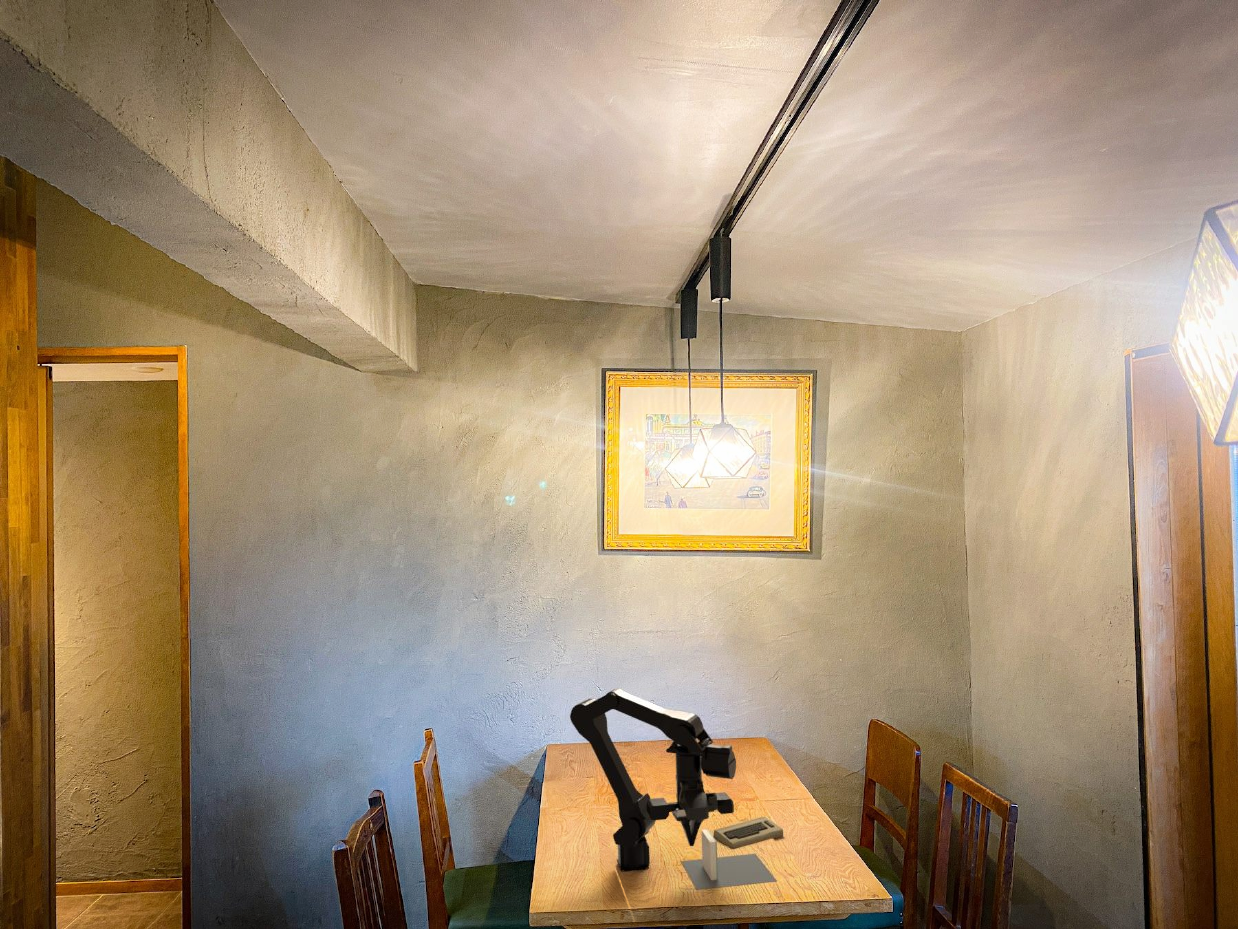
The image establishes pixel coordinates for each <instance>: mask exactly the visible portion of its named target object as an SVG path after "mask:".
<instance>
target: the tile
mask: <svg viewBox="0 0 1238 929" xmlns="http://www.w3.org/2000/svg"><path fill="white" fill-rule="evenodd" d="M701 853H702V854H701V855H702V856H701V859H702V864H703V868H704V869H705V871H706V872H707V874H708V876H709V877H710V879H711V880H718V866H717V857H718V841H717V839H716V838H714V837H713V834H712V833H711V832H710V830H709V829H708V828H707V829H701Z"/></svg>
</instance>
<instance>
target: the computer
mask: <svg viewBox="0 0 1238 929" xmlns="http://www.w3.org/2000/svg"><path fill="white" fill-rule="evenodd" d="M783 835H784V829H783V828H782V827H781V826H779V825H778V824H777V823H775V822H774V821H772V819H769V818H768V817H766V816H760V817H756V818H752V819H747V820H745V821H742V822H737V823H734V824H731V825H727V826H723V827H720V828H717V829H714V830H713V834H712V836H713V837H714V839H715V840H718V841H720V842H721V843H723V844H724V845H726V846H728V847H729V848H731V849H737V848H740V847H743V846H747V845H750V844H753V843H758V842H761V841H765V840H768V839H773V840H774V839H778V838H781V837H783Z"/></svg>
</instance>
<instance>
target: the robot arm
mask: <svg viewBox="0 0 1238 929" xmlns="http://www.w3.org/2000/svg"><path fill="white" fill-rule="evenodd" d="M611 710H615V711H617V712H619V713H621V714H624V715H627V716H628V717H631V718H632V719H633V718H634V719H635V720H638V721H640V722H643V723H645V724H648V725H650V726H652V727H654V728H657V729H658V730H659V731H661V732H662V733H663V734H664V735H665V736H666V737H667V738H668V739H669V740H671V741H672V743H671V744H670V746H669V747H668V748H666V750H665V752H666V753H667V754H668V753H669V754H675V755H674V756H675V780H676V781H675V782H676V794H675V798H676V801H672V802H671V801H670V802H667V800H666V799H665V798H664V797H658V798H657V797H656V798H655V797H654V798H651V796H650V794H649V793H648V792H646V793H645V794H642V793H641V792H639V791H638V790H637V788H636V787H635V784H634V782H633V780H632V779H631V776H630V775H629V773H628V770H627V768H626V767H625V764H624V762H623V760H622V758H621V757H620V754H619V752H618V750H617V748H616V746H615V744H614V742H613V741H612V738H611V737H610V734H609V730H608V719H607V715H606V713H608V712H610V711H611ZM569 718H570V719H569V720H570V722H571V723H572V725H573V727H574V728H575V729H576V731H577V733H578V734H579V735H580V736H581V737H582V738H584V739H585V740H586V741H587V742H588V743H589V744H590V746H591V749H592V750H593V752H594V754H595V756H596V759H597V761H598V762H599V763H598V764H600V766H601V769H602V771H603V773H604V775H605V777H606V778H607V780H608V783H609V785H610V787H611V789H612V791H613V793H614V795H615V798H616V799H617V802H618V804H617V805H618V806H617V807H618V816H619V819H620V823H621V826H620V827H619V829H617V831H615V832H614V833H613V834H612V837H613V840H614V841H613V842H614V843H615V845H616V846H617V858H616V863H617V865H618V867H619V870H620V872H622V873H626V872H636V871H644V870H649V869H650V867H649V865H650V863H651V862H650V860H651V859H650V845H649V844H648V839H647V837H646V835H648V834H649V833H650V830H651V829H652V828H653V826H654V825H655V824H656V821H664V820H666V819H668V818H669V816H670V813H671V814H672V815H673V817H674V819H675V820H676V821H677V822H680V824H681V826H682V830H683V832H684V834H685V837H686V840H687V842H688V845H689V847H694V846H695V843H696V840H697V837H698V832H699V830H700V828H701V825H702V823H703V822H704V821H705V820H708V819H709V817H710V814H709V813H713V812H715V811H717V812H718V813H719V814H720V815H726V814H733V813H734V812H735V807H734V806H735V805H734V801H733V799H732V798H731V797H730V796H729V795H728V794H727V793H726V792H706V791H705V788H704V781H703V775H702V774H705V776H706V777H709V778H717V779H718V778H719V779H725V780H726V779H727V780H733V779H734V778H735V776H736V769H737V758H736V755H735V753H734V751H733V746H732V745H728V744H727V745H726V744H725V745H718V744H713V743H714V742H713V740H712V737H710V735H709V734H708V732H707V730H706V729H705V728H704V724H703V722H702V719H701V717H700V716H699V715H697V714H695V713H691V712H687V711H683V710H671V709H666V708H664V707H661V706H659V705H657V704H654V703H652V702H650V701H647V700H644V699H643V698H640V697H638V696H636V695H632V694H631V693H628V692H626V691H624V690H623V689H621V688H615V689H612V690H610V691H608V692H607V693H606V694H605V695H603V696H601V697H599V698H597V699H595V698H587V699H585V700H582V702H579V703H577V704H576V705H574V706H573V707H572V708H571V711H570V714H569ZM697 740H698V741H697Z"/></svg>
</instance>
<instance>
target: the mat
mask: <svg viewBox="0 0 1238 929" xmlns="http://www.w3.org/2000/svg"><path fill="white" fill-rule="evenodd" d="M680 863H681V865H682V867H683V869H684V870H685V872H686V874H687V875H688V878H689V879H690V881H691V883H692V884H693V886H694V888H695V890H696V891H699V890H700V891H701V890H709V889H718V888H729V887H730V888H731V887H738V886H746V885H747V886H748V885H754V884H755V885H756V884H764V883H765V884H767V883H775V882H778V880H777V879H776V877H775V876H774V875H773V874H772V873H771V871H770V869H768V868H767V866H766V865H765V864H764V862H763V861H762V860H761V859H760V858H759V856H758V855H757V853H748V854H739V855H728V856H717V866H718V880H711V879H710V877H709V876H708V874H707V872H706V871H705V869H704V868H703V864H702V858H700V859H688V860H687V859H686V860H681V861H680Z"/></svg>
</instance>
